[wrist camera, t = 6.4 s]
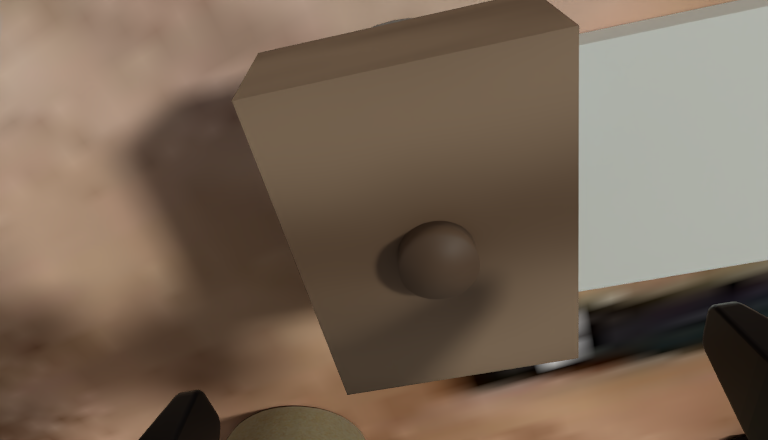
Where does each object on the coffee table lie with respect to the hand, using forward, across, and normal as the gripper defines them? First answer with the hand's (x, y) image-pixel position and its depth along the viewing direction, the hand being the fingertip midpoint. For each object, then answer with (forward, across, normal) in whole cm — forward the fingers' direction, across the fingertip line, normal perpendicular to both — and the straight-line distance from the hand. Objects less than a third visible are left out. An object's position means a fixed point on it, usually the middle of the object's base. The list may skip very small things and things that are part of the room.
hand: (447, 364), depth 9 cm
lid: (+6, 0, 0) cm, 6 cm away
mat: (+10, -8, +3) cm, 13 cm away
